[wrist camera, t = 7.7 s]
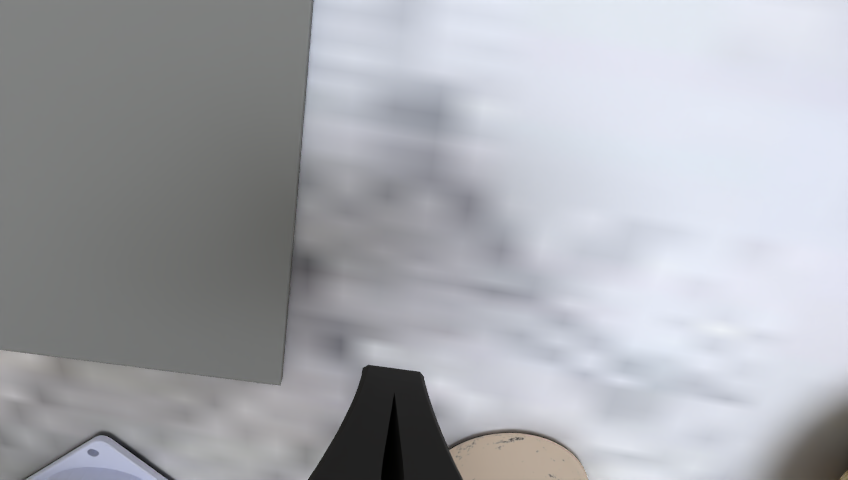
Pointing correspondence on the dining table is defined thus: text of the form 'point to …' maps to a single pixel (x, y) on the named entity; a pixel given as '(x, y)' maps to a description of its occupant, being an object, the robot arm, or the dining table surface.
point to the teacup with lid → (515, 459)
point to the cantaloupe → (844, 476)
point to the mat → (151, 180)
